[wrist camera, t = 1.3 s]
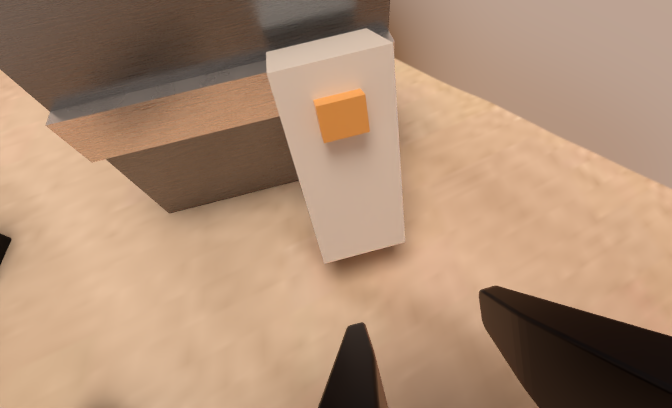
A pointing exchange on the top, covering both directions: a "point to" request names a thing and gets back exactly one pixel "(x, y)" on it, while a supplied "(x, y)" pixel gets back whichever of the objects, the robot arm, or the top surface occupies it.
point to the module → (343, 138)
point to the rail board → (171, 84)
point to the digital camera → (3, 245)
